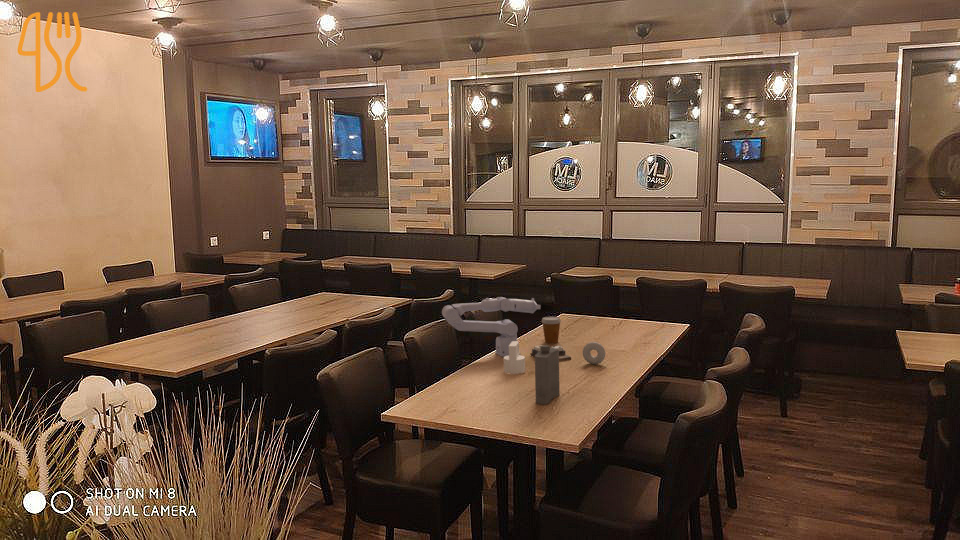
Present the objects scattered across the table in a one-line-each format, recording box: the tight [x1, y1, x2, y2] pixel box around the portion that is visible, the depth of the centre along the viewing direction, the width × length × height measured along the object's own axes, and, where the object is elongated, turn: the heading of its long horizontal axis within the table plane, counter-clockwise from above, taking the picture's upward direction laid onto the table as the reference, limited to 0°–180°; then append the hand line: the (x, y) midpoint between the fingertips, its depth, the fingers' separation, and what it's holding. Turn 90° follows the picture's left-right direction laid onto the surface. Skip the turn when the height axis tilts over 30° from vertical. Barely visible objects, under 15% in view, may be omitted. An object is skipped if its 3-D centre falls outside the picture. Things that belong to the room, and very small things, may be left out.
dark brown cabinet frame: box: [529, 348, 572, 362], centre depth 328 cm, size 13×15×3 cm
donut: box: [582, 341, 606, 365], centre depth 314 cm, size 10×3×10 cm, turn 67°
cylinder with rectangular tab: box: [503, 340, 526, 375], centre depth 307 cm, size 9×9×12 cm
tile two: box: [550, 345, 564, 351], centre depth 330 cm, size 4×4×2 cm
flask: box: [534, 344, 561, 406], centre depth 268 cm, size 15×6×20 cm, turn 153°
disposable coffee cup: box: [541, 316, 562, 344], centre depth 358 cm, size 10×10×12 cm
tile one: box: [533, 344, 543, 351], centre depth 332 cm, size 4×4×2 cm
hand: (550, 308), depth 339 cm, fingers open, 7 cm apart
